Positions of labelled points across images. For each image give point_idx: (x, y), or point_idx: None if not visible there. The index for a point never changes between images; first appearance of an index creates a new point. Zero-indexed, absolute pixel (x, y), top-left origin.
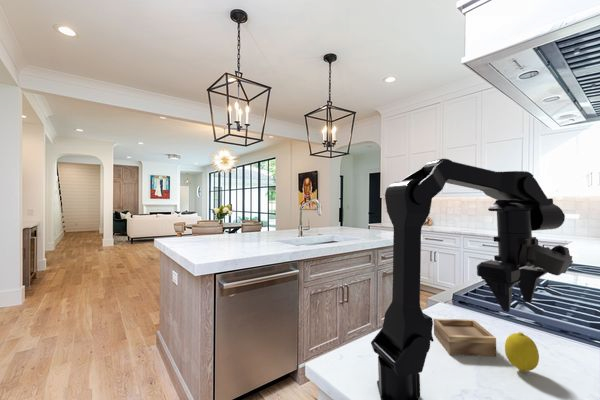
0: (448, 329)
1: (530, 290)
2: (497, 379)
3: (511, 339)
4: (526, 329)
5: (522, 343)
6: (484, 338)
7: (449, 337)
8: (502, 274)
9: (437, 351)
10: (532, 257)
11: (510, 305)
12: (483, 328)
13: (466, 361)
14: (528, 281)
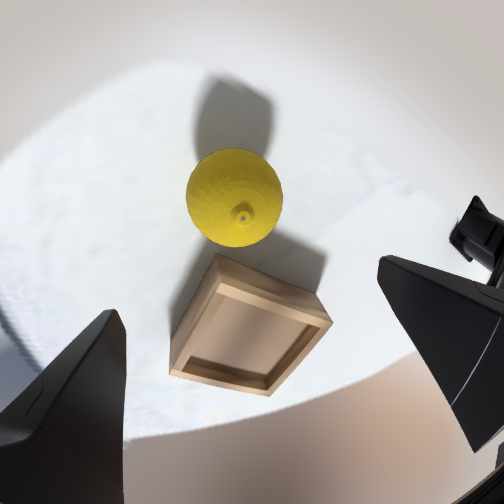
0: (265, 360)
1: (93, 368)
2: (319, 184)
3: (274, 221)
4: (21, 315)
5: (271, 185)
6: (252, 293)
7: (332, 321)
8: None
9: None
10: None
11: (406, 267)
12: (194, 334)
13: (308, 263)
14: (80, 437)
